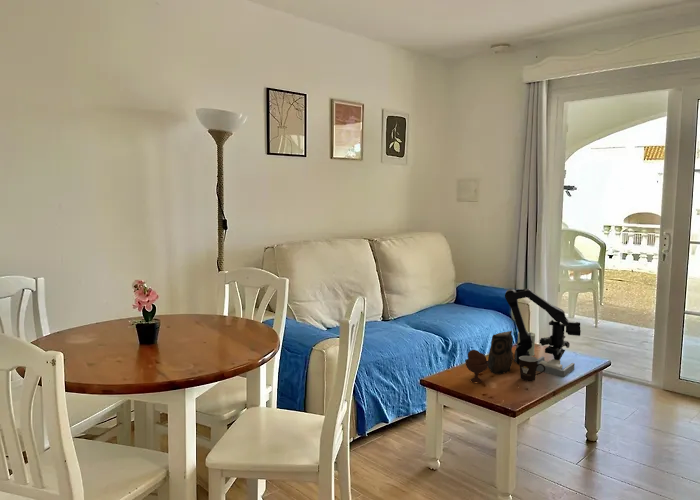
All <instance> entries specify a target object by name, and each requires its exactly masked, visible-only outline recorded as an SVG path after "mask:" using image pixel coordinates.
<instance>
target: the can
mask: <svg viewBox="0 0 700 500" xmlns="http://www.w3.org/2000/svg"><path fill="white" fill-rule="evenodd" d="M527 332H528V333H531V337H532V339H533V343H532V347H531V349H529V350H528V351H529V354H530V356H532V357H535V345H536V344H535V343H536V333H534V332H531V331H527ZM519 342H520V337H519V331H518V332H517V344H518V343H519Z"/></svg>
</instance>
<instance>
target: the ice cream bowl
mask: <svg viewBox="0 0 700 500" xmlns="http://www.w3.org/2000/svg"><path fill="white" fill-rule="evenodd" d="M464 360H465V361H464V362H465V367H466V368H467V369H468V370H469V371H470V372H472V373H474V377H472V378H470V380H471V381H472V382H471V381H470V382H471V383H473V382H481V383H482V382H483V380H482V379H481V378H480V377H479V374H481V373H483V372H485V371H486V370H487V369H489V368H488V365H489V362H488V358H487V357H486V356H485V354H484V353H482V352H480V351H479V350H476V349H471V350H470V351H468V353H467V359H464Z"/></svg>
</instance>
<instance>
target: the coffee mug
mask: <svg viewBox="0 0 700 500" xmlns="http://www.w3.org/2000/svg"><path fill="white" fill-rule="evenodd" d="M538 359H539V358H537V357H535V356H520V357H519V364H518V365H519V375H520V380H522V381H525V382H534V381H535V380H536V376H537V375H540V374H542V373H544V371H545V366H544V365H543V364H538ZM539 365H542V366H543V367H544V370H543V371H542V372H540V371H539V372H538V373H537V371H536V369H537V367H538V366H539Z"/></svg>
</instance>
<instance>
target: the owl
mask: <svg viewBox="0 0 700 500" xmlns="http://www.w3.org/2000/svg"><path fill="white" fill-rule="evenodd" d="M512 332H513V331H512V330H509V331H504V332H503V331H502V332H498V333H496V334H493V335H492V337H491V342H490V343H491V345H490V348H489V351H488V352H489V353H488V358H487V361H488V362H489V365H488V368H487V369H489V371H490V373H491V374H493V375H503V374H507V373H510V372H511V370H512V369H511V367H512V365H513V361H514V360H513V359H514V353H513V347H514V346H513V345H514V338H513V334H512Z"/></svg>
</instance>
